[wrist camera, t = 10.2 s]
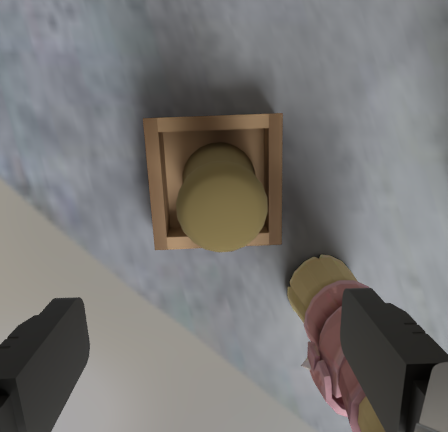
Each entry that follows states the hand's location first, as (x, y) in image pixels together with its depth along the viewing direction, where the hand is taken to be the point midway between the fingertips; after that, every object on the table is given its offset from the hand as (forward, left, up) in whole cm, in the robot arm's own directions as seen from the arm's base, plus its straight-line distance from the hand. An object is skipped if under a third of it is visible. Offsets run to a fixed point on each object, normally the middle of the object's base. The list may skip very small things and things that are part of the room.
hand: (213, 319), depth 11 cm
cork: (-1, -1, -20) cm, 20 cm away
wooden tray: (0, -1, -20) cm, 20 cm away
